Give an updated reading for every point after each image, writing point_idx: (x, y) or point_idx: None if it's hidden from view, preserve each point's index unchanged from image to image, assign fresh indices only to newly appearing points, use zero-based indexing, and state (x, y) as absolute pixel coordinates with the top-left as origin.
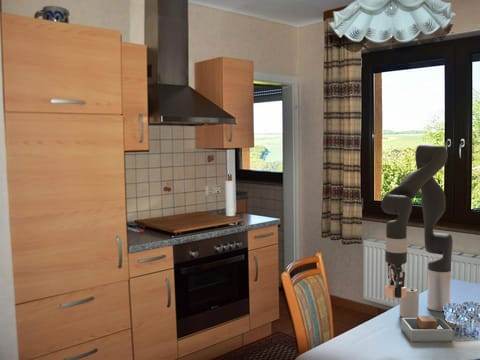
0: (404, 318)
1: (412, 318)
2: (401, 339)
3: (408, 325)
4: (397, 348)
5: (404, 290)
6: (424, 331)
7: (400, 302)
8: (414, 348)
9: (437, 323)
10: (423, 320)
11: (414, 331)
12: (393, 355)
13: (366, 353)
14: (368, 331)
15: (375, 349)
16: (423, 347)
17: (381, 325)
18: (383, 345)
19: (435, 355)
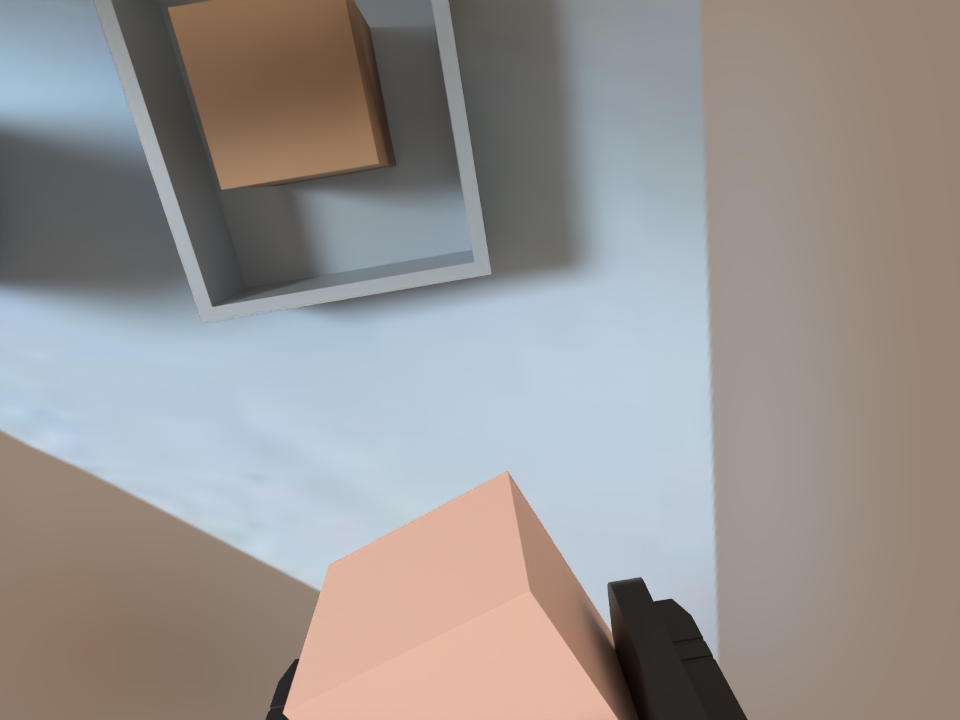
0: (209, 299)
1: (184, 222)
2: (447, 323)
3: (382, 286)
4: (604, 367)
5: (544, 584)
6: (471, 155)
7: None
8: (594, 253)
9: None
10: (356, 142)
11: (486, 247)
12: (710, 401)
13: (688, 542)
14: (350, 521)
15: (630, 495)
16: (569, 182)
17: (209, 435)
18: (566, 447)
19: (703, 116)
